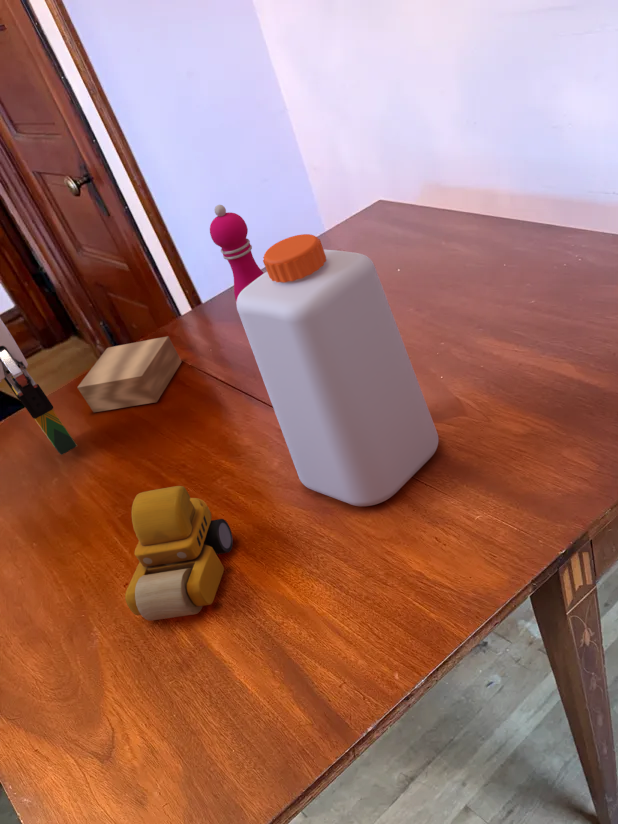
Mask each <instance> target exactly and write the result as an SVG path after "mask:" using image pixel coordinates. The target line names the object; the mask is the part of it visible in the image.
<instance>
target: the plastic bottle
mask: <svg viewBox="0 0 618 824" xmlns="http://www.w3.org/2000/svg"><path fill="white" fill-rule="evenodd" d="M262 258H263V260H262V263H263V265H264V268H265V270H266V271H265V272H263V273H264V274H262V275H261V276H260V277H258V278H257V279H256V280H254V281H253V282H252V283H250V284H249V285H248V286H247V287H245V288H244V289H243V290H242V291H241V292H240V294H239V295H238V298H237V302H236V301H235V303H236V310H237V313H238V316H239V319H240V321H241V323H242V327H243V329H244V332H245V334H246V337H247V339H248V343H249V345H250V348H251V351H252V353H253V357H254V359H255V362H256V365H257V367H258V370H259V373H260V376H261V378H262V381H263V384H264V386H265V389H266V392H267V395H268V397H269V400H270V402H271V403H270V404H271V406H272V409H273V411H274V414H275V416H276V419H277V422H278V425H279V427H280V430H281V432H282V436H283V438H284V441H285V444H286V446H287V450H288V452H289V455H290V457H291V460H292V463H293V465H294V468H295V471H296V473H297V476H298V479H299V481H300V482H301V484H302V485H303V486H305V487H306V488H307V489H309V490H311V491H313V492H317V493H319V494H322V495H325V496H327V497H330V498H333V499H334V500H338V501H341V502H343V503H346V504H349V505H351V506H355V507H372V506H376V505H378V504H382V503H383V502H385V501H387V500H389V499H390V498H392V497H393V496H394V495H396V494H397V493H398V492H399V491H400V490H401V488H402V487H403V486H405V484H407V482H409V481H410V480H411V479H412V477H414V476H415V474H417V473H418V472H419V470H421V468H422V467H424V466H425V464H426V463H428V462H429V460H430V459H431V458H432V457H433V456H434V454H435V453H436V451H437V449H438V446H439V434H438V430H437V428H436V426H435V423H434V420H433V418H432V414H431V412H430V410H429V407H428V404H427V402H426V399H425V396H424V394H423V391H422V389H421V386H420V383H419V380H418V377H417V375H416V373H415V369H414V367H413V365H412V362H411V358H410V356H409V354H408V351H407V349H406V345H405V343H404V341H403V338H402V335H401V333H400V330H399V327H398V325H397V322H396V319H395V317H394V313H393V311H392V309H391V306H390V302H389V300H388V297H387V296H386V293H385V290H384V287H383V284H382V282H381V279H380V276H379V274H378V271H377V268H376V265H375V264H374V262H373V260H372V259H371V258H370V257H369V256H367V255H366V254H363V253H360V252H353V251H345V250H338V249H337V250H336V249H324V246H323V244H322V241H321V239H320V238H318V236H316V235H314V234H311V233H304V234H303V233H301V234H297V235H292V236H290V237H287V238H284V239H281V240H279V241H277V242H276V243H274V244H272V245H271V246H270V247H269V248H268V249H266V251H265V252H264V254H263V257H262Z"/></svg>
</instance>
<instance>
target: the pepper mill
mask: <svg viewBox="0 0 618 824" xmlns="http://www.w3.org/2000/svg"><path fill="white" fill-rule="evenodd" d="M214 213H215V215H216V217H215V218H213V220H212V221H211V223H210V226H209V234H210V237H211V240H212V242H213V243H214V245H216V246H218V247H220V248H221V249H220V253H221V254H222V257H223V259H224V260H225V261H226V260H227V262H228V264H229V266H230V269H231V271H232V275H233V276H232V277H233V290H234V291H233V294H234V299H235V303H236V302H237V298H238V295H239V294H240V292H241V291H242V290H243V289H244V288H245V287H247V286H248V285H249V284H250V283H252V282H253V281H254V280H256V279H257V278H258V277H260V276H261V275H262V274H264V273H265V272H264V271H263V270H262V269H261V268H260V267H259V265H258V264H257V262H256V260H255V258H254V256H253V253H252V249H253V245H252V244H251V241H250V239H249V238H248V237H247V236H248V232H249V231H248V225H247V223H246V221H245V219H244V218H243V217H242V216H241V215H240V214H238V213H235V212H227V209H226V207H225V206H224V205H222V204H217V205H216V206H215V207H214Z"/></svg>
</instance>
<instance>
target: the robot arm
mask: <svg viewBox="0 0 618 824" xmlns="http://www.w3.org/2000/svg"><path fill="white" fill-rule="evenodd" d="M28 367H29V363H28V362H27V359H26V357H25V356H24V354H23V353H22V350H21V349H20V347H19V345H18V344H17V342H16V340H15V338H14V336H13V335H12V334H11V332H10V330H9V329H8V327H7V326H6V324H5V323H4V321H3V319H2V318H1V317H0V383H2V380H3V381H5V382H6V384H7V385H8V387H9V388H10V390H11V391H12V392H13V394H14V395H15V396H16V398H17V399H18V400H19V401H20V402H21V404H22V405H23V406H24V408H25V410H26V411H27V412H28V414H29V415H30V416H31V418H32V419H34V420H35V419H36V418H38V417H40V416H42V415H43V414H45V413H47V412H49V411H51V410H52V409H53V410H54V406H53V404H52V402H51V401H50V400H49V398H48V397H47V395H46V393H45V392H44V391H43V389H42V388H41V386H40V385H39V383H36V381H35V380H34V378H33V377H32V376H31V375H30V373H29V371H28V370H27V369H28ZM12 386H13V388H14V389H15V390H16V392H17V393H18V395H17V394H16V393H15V391H14V390H13V388H12Z"/></svg>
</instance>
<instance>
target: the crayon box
mask: <svg viewBox="0 0 618 824" xmlns="http://www.w3.org/2000/svg"><path fill="white" fill-rule="evenodd" d="M12 388H13V386H12ZM13 390H14V391H15V393H16V394H17V395H18V393H17V392H16V390H15V389H14V388H13ZM34 421H35V423H36V424H37V425H38V427H39V428H40V429H41V431H42V432H43V433H44V435H45V436H46V438H47V439H48V441H49V442H50V443H51V445H52V446H53V447H54V448H55V450H56V452H58V454H60V456H63V455H65V454H66V453H67V452H70V451H72V450H73V449H75V448H77V447H78V444H77V443H76V441H75V440H74V439H73V437H72V435H71V434H70V433H69V431H68V430H67V428H66V426H65V425H64V424H63V422H62V421H61V419H60V418H59V417H58V415H57V413H56V412H55V410H54V408H53V409H52V410H51V411H49V412H47V413H45V414H43V415H42V416H40V417H38V418H36V419H34Z"/></svg>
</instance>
